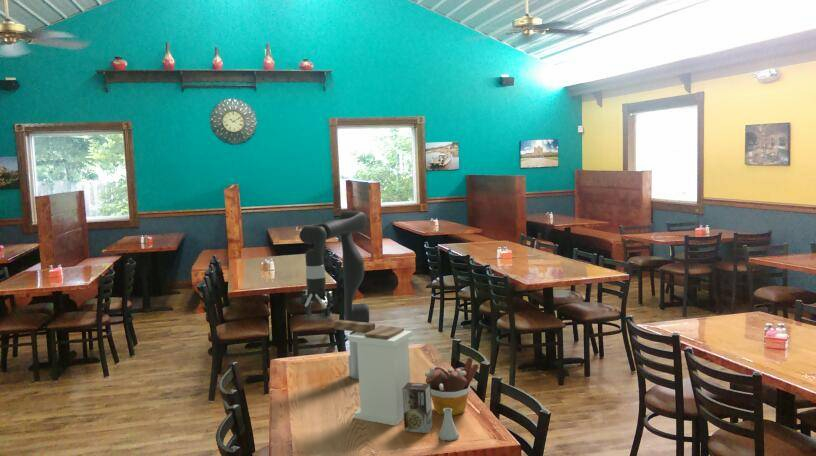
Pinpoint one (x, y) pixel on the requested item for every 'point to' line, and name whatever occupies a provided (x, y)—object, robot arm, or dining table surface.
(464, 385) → the bucket of meat
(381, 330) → the wooden cutting board
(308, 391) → the dining table surface
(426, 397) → the coffee box
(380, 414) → the display stand
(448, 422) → the flask
